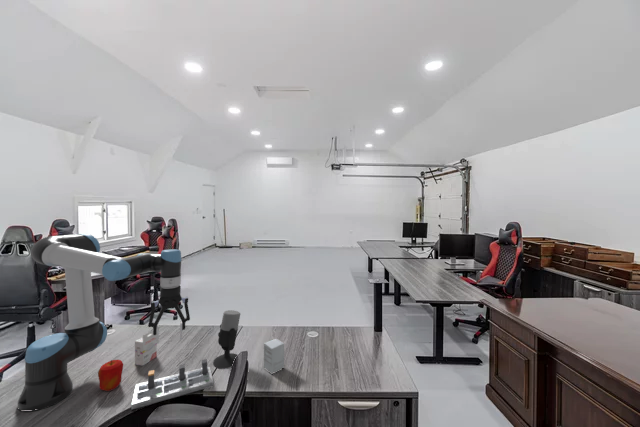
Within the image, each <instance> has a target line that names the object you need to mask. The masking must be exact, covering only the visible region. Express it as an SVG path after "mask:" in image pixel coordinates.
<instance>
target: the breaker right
mask: <svg viewBox="0 0 640 427" xmlns="http://www.w3.org/2000/svg"><path fill="white" fill-rule="evenodd" d="M207 366H208V359H207V358H205V359H204V358H203V359H202V360H201V368H202V371H200V375H203V374H206V373H208V369H207Z"/></svg>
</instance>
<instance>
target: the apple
mask: <svg viewBox="0 0 640 427" xmlns="http://www.w3.org/2000/svg"><path fill="white" fill-rule="evenodd" d="M123 369H124V362H123V361H122V360H121V359H113V360H112V359H111V360H109V361H107V362H105V363H104V364H102V365H101V366H100V368H99V370H98V372H97V375H98V380H99V389H100V391H101V390H102V391H105V392H109V391H110V392H111V391H112V390H115V389H117V388H118V387H119V385H120V384H121V382H122V374H123Z"/></svg>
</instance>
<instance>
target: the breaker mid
mask: <svg viewBox="0 0 640 427" xmlns="http://www.w3.org/2000/svg"><path fill="white" fill-rule="evenodd" d="M178 368H179V369H178V374H179V377H178V381H180V380H184V379H186V375H185V372H186V371H185V370H186V369H185V368H186V367H185V363H184V364H179V367H178Z"/></svg>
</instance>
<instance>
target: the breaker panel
mask: <svg viewBox="0 0 640 427" xmlns="http://www.w3.org/2000/svg"><path fill="white" fill-rule="evenodd" d="M207 369H208V373H206V374H203V375H200V371H202V367H200V368H196V369H192V370H187V371H185V375H186V379H184V380H180V381H178V377H179V373H176V374H172V375H168V376H163V377H160V378H156V379H155V378H154V383H156V387H153V388H149V389H147V385H148V380H147V381H144V382H140V383H135V388H134V391H133V392H134V393H133V395H132V396H133V397H132V401H131V405H130V406H131V407H130V408H131V410H135V409H140V408H141V407H145V406H149V405H152V404H157V403H159V402H163V401H166V400H170V399H175V398H177V397H180V396H185V395H187V394H192V393H194V392H197V391H198V392H199V391H201V390H205V389H209V388H212V387H214V379H213V374H212V371H211V366H210V365H207Z"/></svg>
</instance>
